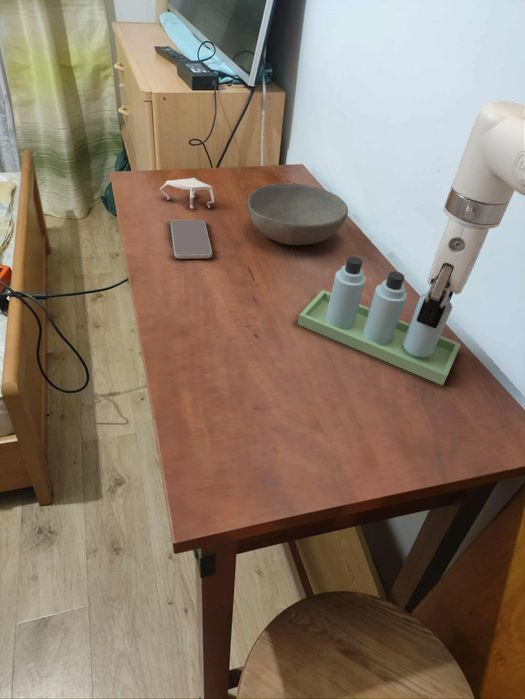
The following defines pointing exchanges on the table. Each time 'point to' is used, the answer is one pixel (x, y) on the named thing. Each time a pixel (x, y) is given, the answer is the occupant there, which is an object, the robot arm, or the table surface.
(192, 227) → the smartphone
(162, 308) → the table surface
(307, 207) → the bowl
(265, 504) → the table surface
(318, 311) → the tray
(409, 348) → the loose bottle
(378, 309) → the row bottle middle
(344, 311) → the row bottle back
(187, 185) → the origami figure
